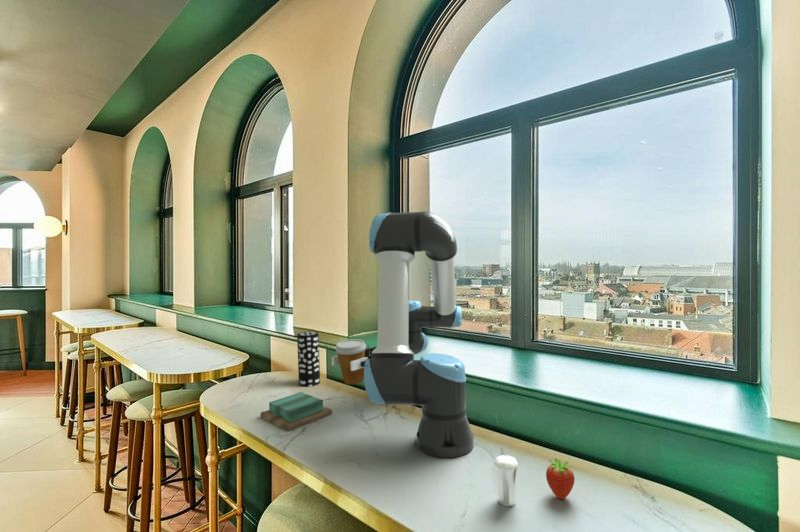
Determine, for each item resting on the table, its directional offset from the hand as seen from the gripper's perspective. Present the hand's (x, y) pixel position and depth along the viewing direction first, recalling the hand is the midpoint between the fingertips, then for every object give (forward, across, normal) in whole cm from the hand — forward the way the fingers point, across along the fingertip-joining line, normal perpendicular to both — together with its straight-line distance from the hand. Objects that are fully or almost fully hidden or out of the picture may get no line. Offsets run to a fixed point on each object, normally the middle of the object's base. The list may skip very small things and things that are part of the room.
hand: (341, 363), depth 123 cm
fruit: (-4, -64, -18) cm, 67 cm away
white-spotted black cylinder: (-16, +40, -18) cm, 46 cm away
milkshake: (+4, -56, -18) cm, 59 cm away
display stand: (+6, +16, -18) cm, 25 cm away
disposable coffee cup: (-5, 0, -6) cm, 8 cm away
